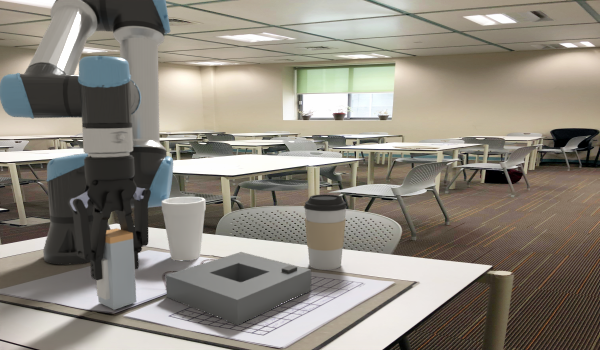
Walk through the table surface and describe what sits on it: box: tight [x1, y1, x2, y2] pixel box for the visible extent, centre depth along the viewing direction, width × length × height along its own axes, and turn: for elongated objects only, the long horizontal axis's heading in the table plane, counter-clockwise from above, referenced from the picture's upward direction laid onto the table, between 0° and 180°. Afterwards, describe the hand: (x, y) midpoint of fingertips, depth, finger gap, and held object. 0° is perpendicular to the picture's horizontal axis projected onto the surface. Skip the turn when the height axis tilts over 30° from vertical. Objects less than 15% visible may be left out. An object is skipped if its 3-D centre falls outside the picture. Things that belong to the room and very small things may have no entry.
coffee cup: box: [303, 193, 348, 271], centre depth 99 cm, size 9×9×15 cm
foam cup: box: [161, 196, 207, 261], centre depth 105 cm, size 10×9×13 cm
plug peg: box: [97, 227, 137, 310], centre depth 78 cm, size 5×4×12 cm
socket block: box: [165, 251, 312, 326], centre depth 83 cm, size 18×18×5 cm
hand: (116, 292), depth 79 cm, fingers closed on plug peg, 4 cm apart
